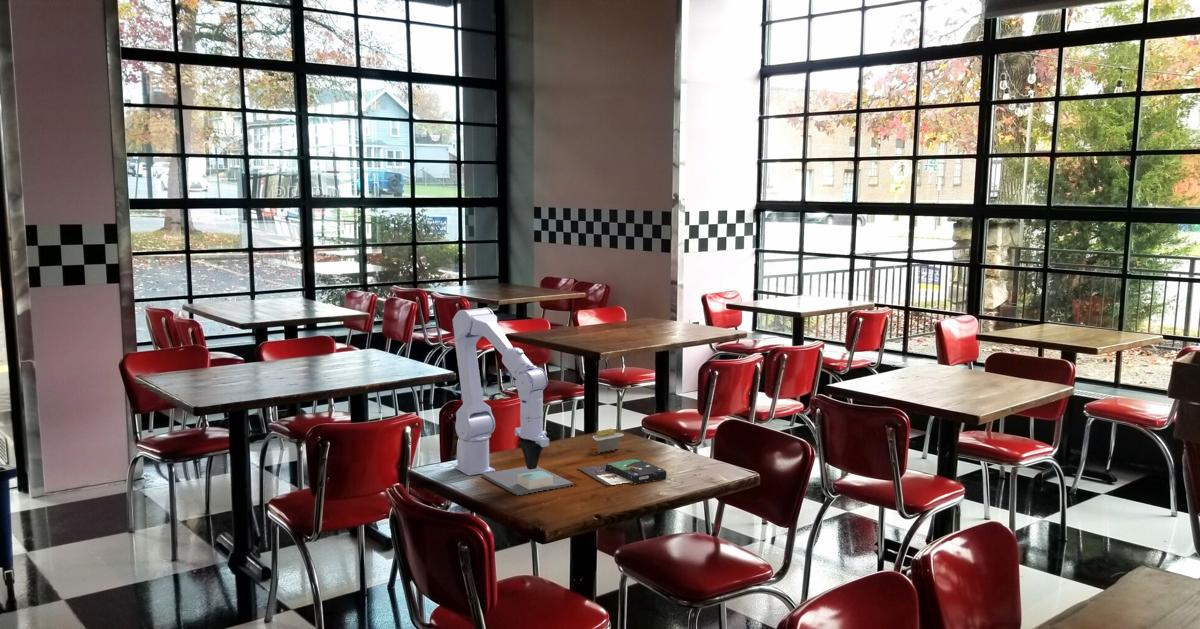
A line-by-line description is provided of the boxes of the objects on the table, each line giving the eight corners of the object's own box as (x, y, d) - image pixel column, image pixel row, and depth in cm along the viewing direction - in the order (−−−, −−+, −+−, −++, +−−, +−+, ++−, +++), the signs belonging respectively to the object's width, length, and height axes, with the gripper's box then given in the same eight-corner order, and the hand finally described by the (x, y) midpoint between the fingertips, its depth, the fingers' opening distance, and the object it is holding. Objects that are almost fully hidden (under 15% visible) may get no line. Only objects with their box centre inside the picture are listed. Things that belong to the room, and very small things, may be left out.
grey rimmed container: (569, 452, 283) (569, 430, 283) (617, 443, 294) (617, 422, 294) (595, 461, 274) (595, 438, 273) (643, 451, 285) (643, 429, 284)
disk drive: (667, 480, 256) (636, 466, 268) (667, 470, 255) (636, 457, 268) (634, 486, 250) (604, 472, 263) (634, 476, 250) (604, 462, 263)
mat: (482, 476, 257) (482, 473, 257) (535, 467, 265) (535, 464, 265) (517, 495, 240) (517, 492, 240) (573, 485, 249) (573, 482, 249)
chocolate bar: (606, 464, 268) (637, 480, 252) (606, 467, 268) (637, 484, 252) (577, 467, 264) (607, 485, 248) (577, 471, 264) (607, 488, 248)
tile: (517, 474, 247) (528, 480, 242) (541, 470, 251) (553, 476, 246) (517, 483, 247) (528, 489, 242) (541, 479, 251) (553, 485, 246)
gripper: (559, 419, 242) (559, 472, 244) (531, 409, 254) (531, 459, 256) (534, 423, 239) (535, 477, 240) (507, 412, 251) (508, 463, 252)
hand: (531, 468), depth 248 cm, fingers closed
